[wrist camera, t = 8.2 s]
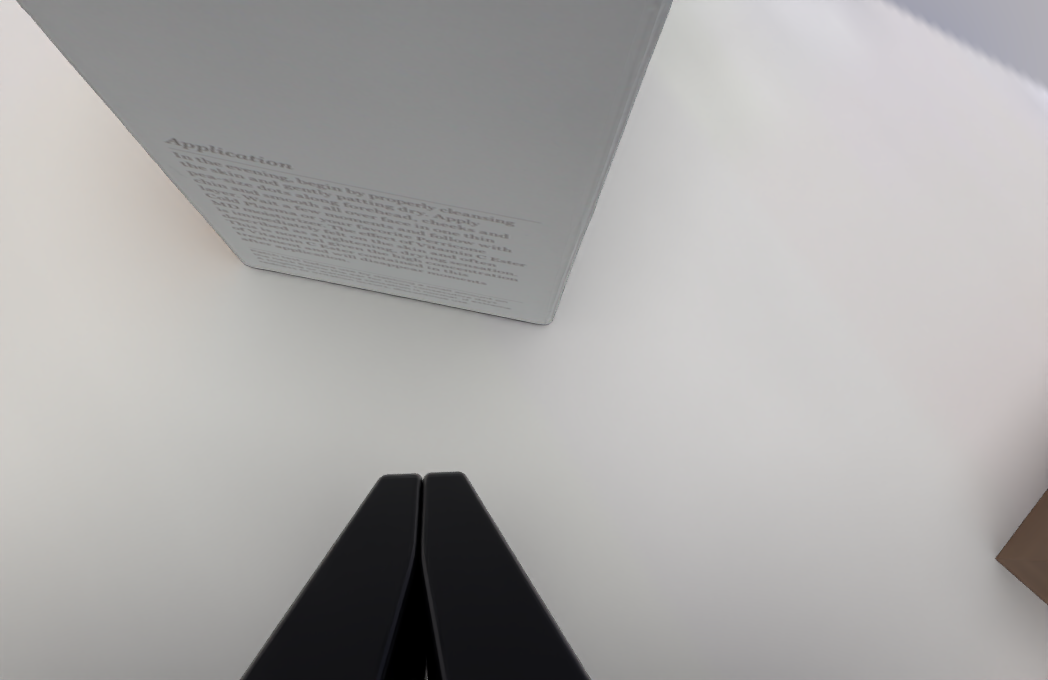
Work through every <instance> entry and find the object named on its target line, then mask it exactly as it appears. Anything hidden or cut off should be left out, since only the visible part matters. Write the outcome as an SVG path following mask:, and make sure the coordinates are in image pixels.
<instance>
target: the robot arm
mask: <svg viewBox="0 0 1048 680" xmlns="http://www.w3.org/2000/svg"><path fill="white" fill-rule="evenodd" d="M427 677H428V680H591V679H590V677H589V676H588V674H587V672H586V671H585V669H584V667H583V666H582V664H581V662H580V661H579V659H578V658H577V656H576V654H575V653H574V651H573V649H572V648H571V646H570V645H569V643H568V641H567V640H566V638H565V636H564V635H563V633H562V631H561V630H560V628H559V627H558V625H557V623H556V622H555V620H554V618H553V617H552V615H551V613H550V612H549V610H548V609H547V607H546V605H545V604H544V602H543V600H542V599H541V597H540V596H539V594H538V592H537V591H536V589H535V587H534V586H533V584H532V582H531V581H530V579H529V578H528V576H527V574H526V573H525V571H524V569H523V568H522V566H521V564H520V563H519V561H518V560H517V558H516V556H515V555H514V553H513V551H512V550H511V548H510V547H509V545H508V543H507V542H506V540H505V538H504V537H503V535H502V533H501V532H500V530H499V529H498V527H497V525H496V524H495V522H494V520H493V519H492V517H491V515H490V514H489V512H488V511H487V509H486V507H485V506H484V504H483V502H482V501H481V499H480V497H479V496H478V494H477V493H476V491H475V489H474V488H473V486H472V484H471V483H470V481H469V480H468V478H467V477H466V475H465V474H464V473H462V472H437V473H428V474H426V475H425V476H424V478H423V479H422V477H421V476H420V475H419V474H416V473H412V474H387V475H383V476H382V477H380V478H379V480H378V481H377V482H376V484H375V485H374V487H373V488H372V489H371V491H370V492H369V494H368V495H367V497H366V498H365V500H364V501H363V502H362V504H361V505H360V507H359V508H358V510H357V511H356V513H355V514H354V516H353V517H352V518H351V520H350V521H349V523H348V524H347V526H346V527H345V529H344V530H343V531H342V533H341V534H340V536H339V537H338V539H337V540H336V542H335V543H334V544H333V546H332V547H331V549H330V550H329V552H328V553H327V555H326V556H325V557H324V559H323V560H322V562H321V563H320V565H319V566H318V568H317V569H316V571H315V572H314V573H313V575H312V576H311V578H310V579H309V581H308V582H307V584H306V585H305V586H304V588H303V589H302V591H301V592H300V594H299V595H298V597H297V598H296V599H295V601H294V602H293V604H292V605H291V607H290V608H289V610H288V611H287V612H286V614H285V615H284V617H283V618H282V620H281V621H280V623H279V624H278V626H277V627H276V628H275V630H274V631H273V633H272V634H271V636H270V637H269V639H268V640H267V641H266V643H265V644H264V646H263V647H262V649H261V650H260V652H259V653H258V654H257V656H256V657H255V659H254V660H253V662H252V663H251V665H250V666H249V667H248V669H247V670H246V672H245V673H244V675H243V676H242V678H241V679H240V680H427Z"/></svg>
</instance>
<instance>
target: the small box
mask: <svg viewBox="0 0 1048 680" xmlns="http://www.w3.org/2000/svg"><path fill="white" fill-rule="evenodd" d="M16 1H17V2H18V3H19V4H20V6H21V7H22V8H23V9H24V10H25V11H26V12H27V13H28V14H29V15H30V16H31V17H32V19H33V20H34V21H35V22H36V23H37V25H38V26H39V27H40V28H41V29H42V31H43V32H44V33H45V34H46V35H47V37H48V38H49V39H50V40H51V41H52V42H53V44H54V45H55V46H56V47H57V48H58V50H59V51H60V52H61V53H62V54H63V55H64V57H65V58H66V59H67V60H68V61H69V62H70V64H71V65H72V66H73V67H74V68H75V69H76V70H77V72H78V73H79V74H80V75H81V76H82V77H83V78H84V80H85V81H86V82H87V83H88V84H89V85H90V87H91V88H92V89H93V90H94V91H95V92H96V93H97V95H98V96H99V97H100V98H101V99H102V100H103V102H104V103H105V104H106V105H107V106H108V107H109V108H110V110H111V111H112V112H113V113H114V114H115V115H116V116H117V118H118V119H119V120H120V121H121V122H122V124H123V125H124V126H125V127H126V129H127V130H128V131H129V132H130V133H131V134H132V136H133V137H134V138H135V139H136V140H137V141H138V142H139V143H140V145H141V146H142V147H143V148H144V149H145V151H146V152H147V153H148V154H149V155H150V157H151V158H152V159H153V160H154V161H155V162H156V163H157V164H158V165H159V167H160V168H161V169H162V170H163V172H164V173H165V174H166V175H167V176H168V178H169V179H170V180H171V181H172V182H173V183H174V184H175V186H176V187H177V188H178V189H179V190H180V191H181V192H182V194H183V195H184V196H185V197H186V198H187V199H188V200H189V202H190V203H191V204H192V205H193V206H194V207H195V208H196V209H197V211H198V212H199V213H200V214H201V215H202V216H203V217H204V218H205V220H206V221H207V222H208V223H209V224H210V226H211V227H212V228H213V229H214V230H215V231H216V233H217V234H218V235H219V236H220V237H221V238H222V239H223V241H224V242H225V243H226V244H227V245H228V246H229V248H230V249H231V250H232V251H233V252H234V253H235V255H236V256H237V257H238V258H239V259H240V260H241V261H242V262H243V263H244V264H245V265H248V266H250V267H255V268H260V269H265V270H271V271H276V272H281V273H286V274H291V275H296V276H301V277H306V278H311V279H316V280H321V281H326V282H331V283H336V284H341V285H346V286H352V287H357V288H362V289H367V290H372V291H377V292H382V293H387V294H392V295H397V296H402V297H407V298H412V299H417V300H422V301H427V302H432V303H437V304H442V305H447V306H452V307H457V308H462V309H467V310H471V311H476V312H481V313H486V314H492V315H497V316H502V317H507V318H511V319H516V320H521V321H526V322H531V323H537V324H549V323H550V322H551V321H553V318H554V316H555V313H556V310H557V307H558V305H559V302H560V299H561V296H562V293H563V290H564V287H565V285H566V282H567V279H568V276H569V274H570V271H571V268H572V265H573V263H574V260H575V257H576V255H577V252H578V250H579V247H580V244H581V242H582V239H583V236H584V234H585V231H586V229H587V227H588V224H589V222H590V220H591V217H592V215H593V213H594V210H595V207H596V204H597V201H598V198H599V195H600V193H601V190H602V187H603V185H604V182H605V179H606V177H607V174H608V171H609V169H610V166H611V163H612V161H613V158H614V155H615V153H616V150H617V147H618V145H619V142H620V139H621V137H622V134H623V131H624V129H625V126H626V123H627V121H628V118H629V115H630V112H631V110H632V107H633V104H634V102H635V99H636V96H637V94H638V91H639V88H640V86H641V83H642V80H643V77H644V75H645V72H646V69H647V67H648V64H649V61H650V59H651V56H652V54H653V51H654V49H655V46H656V44H657V41H658V39H659V36H660V34H661V31H662V29H663V26H664V23H665V21H666V18H667V15H668V13H669V10H670V7H671V5H672V2H673V0H16Z"/></svg>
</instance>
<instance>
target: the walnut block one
mask: <svg viewBox="0 0 1048 680" xmlns="http://www.w3.org/2000/svg"><path fill="white" fill-rule="evenodd" d="M995 559H996V560H997V561H998V562H999V563H1001V564H1002V565H1003V566H1004V567H1005V568H1006V569H1007V570H1009V571H1010V572H1011V573H1012V574H1013V575H1014V576H1015V577H1016V578H1018V579H1019V580H1020V581H1021V582H1022V583H1023V584H1024V585H1026V586H1027V587H1028V588H1029V589H1030V590H1031V591H1032V592H1034V593H1035V594H1036V595H1037V596H1038V597H1039V598H1040V599H1042V600H1043V601H1044V602H1045V603H1046V604H1047V605H1048V489H1047V490H1046V492H1045V493H1044V494H1043V496H1042V497H1041V498H1040V500H1039V501H1038V502H1037V504H1036V505H1035V506H1034V508H1033V509H1032V510H1031V512H1030V513H1029V514H1028V516H1027V517H1026V518H1025V520H1024V521H1023V522H1022V524H1021V525H1020V526H1019V528H1018V529H1017V530H1016V532H1015V533H1014V534H1013V536H1012V537H1011V538H1010V540H1009V541H1008V542H1007V544H1006V545H1005V546H1004V548H1003V549H1002V550H1001V552H1000V553H999V554H998V556H997V557H996V558H995Z"/></svg>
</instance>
